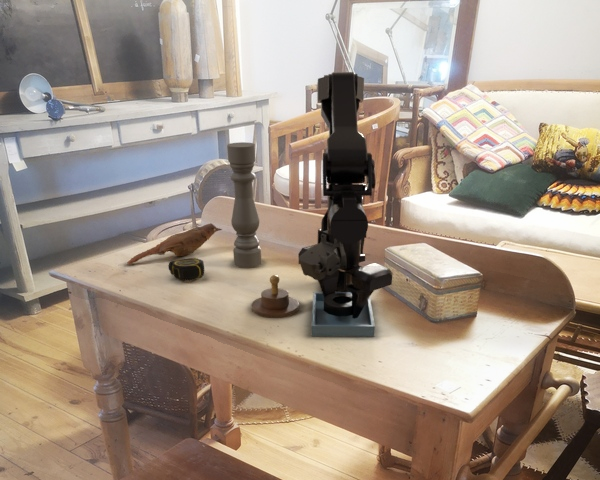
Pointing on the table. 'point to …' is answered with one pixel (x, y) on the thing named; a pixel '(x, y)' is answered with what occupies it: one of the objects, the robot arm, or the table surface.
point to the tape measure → (187, 268)
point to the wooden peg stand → (275, 302)
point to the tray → (341, 321)
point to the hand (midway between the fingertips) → (341, 311)
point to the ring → (338, 304)
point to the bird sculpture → (181, 242)
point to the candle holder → (244, 205)
